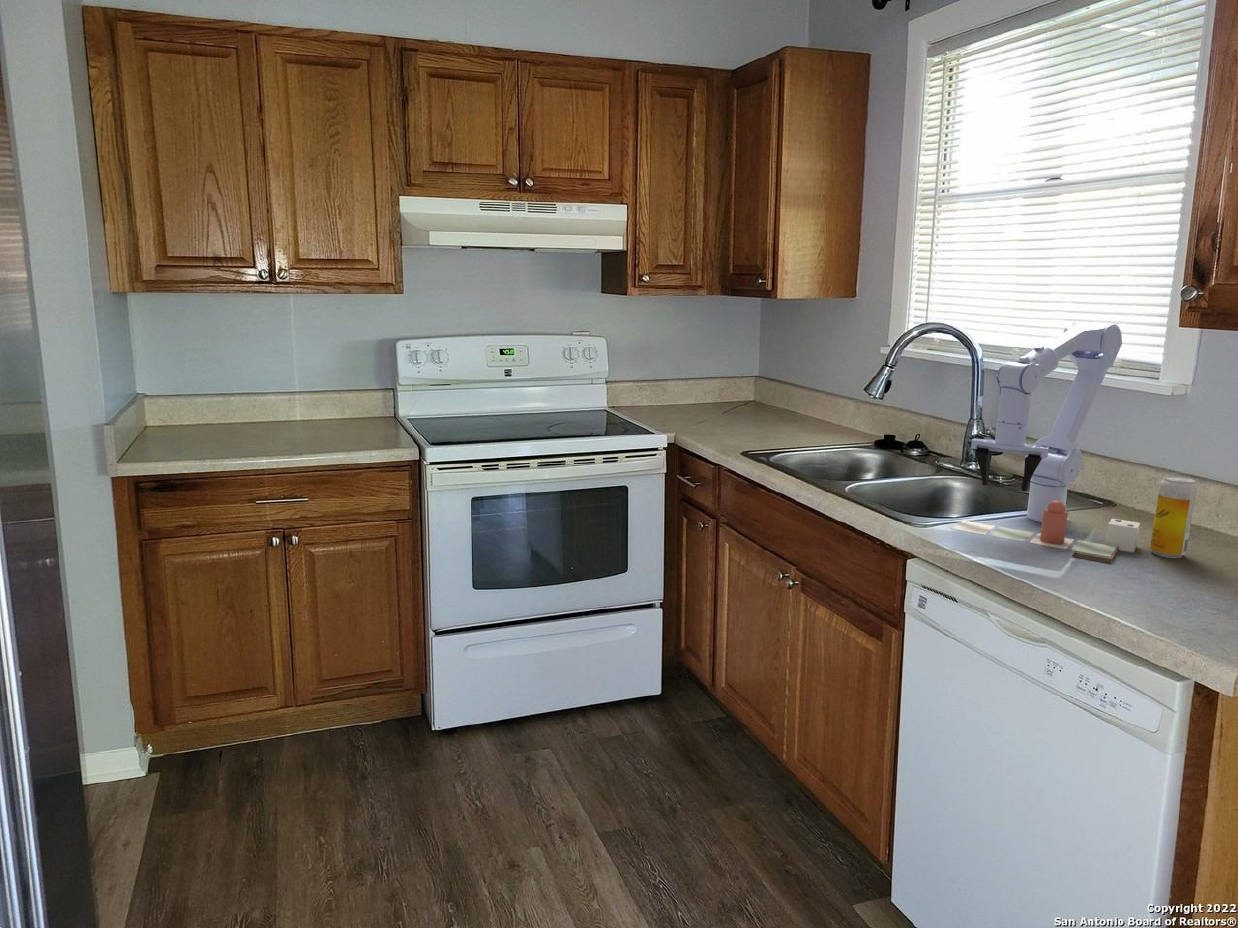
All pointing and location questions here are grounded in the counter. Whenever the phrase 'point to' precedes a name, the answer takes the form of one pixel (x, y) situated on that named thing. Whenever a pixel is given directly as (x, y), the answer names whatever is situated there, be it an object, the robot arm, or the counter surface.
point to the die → (1123, 534)
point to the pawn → (1054, 523)
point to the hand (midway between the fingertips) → (1004, 487)
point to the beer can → (1173, 516)
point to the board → (1081, 547)
